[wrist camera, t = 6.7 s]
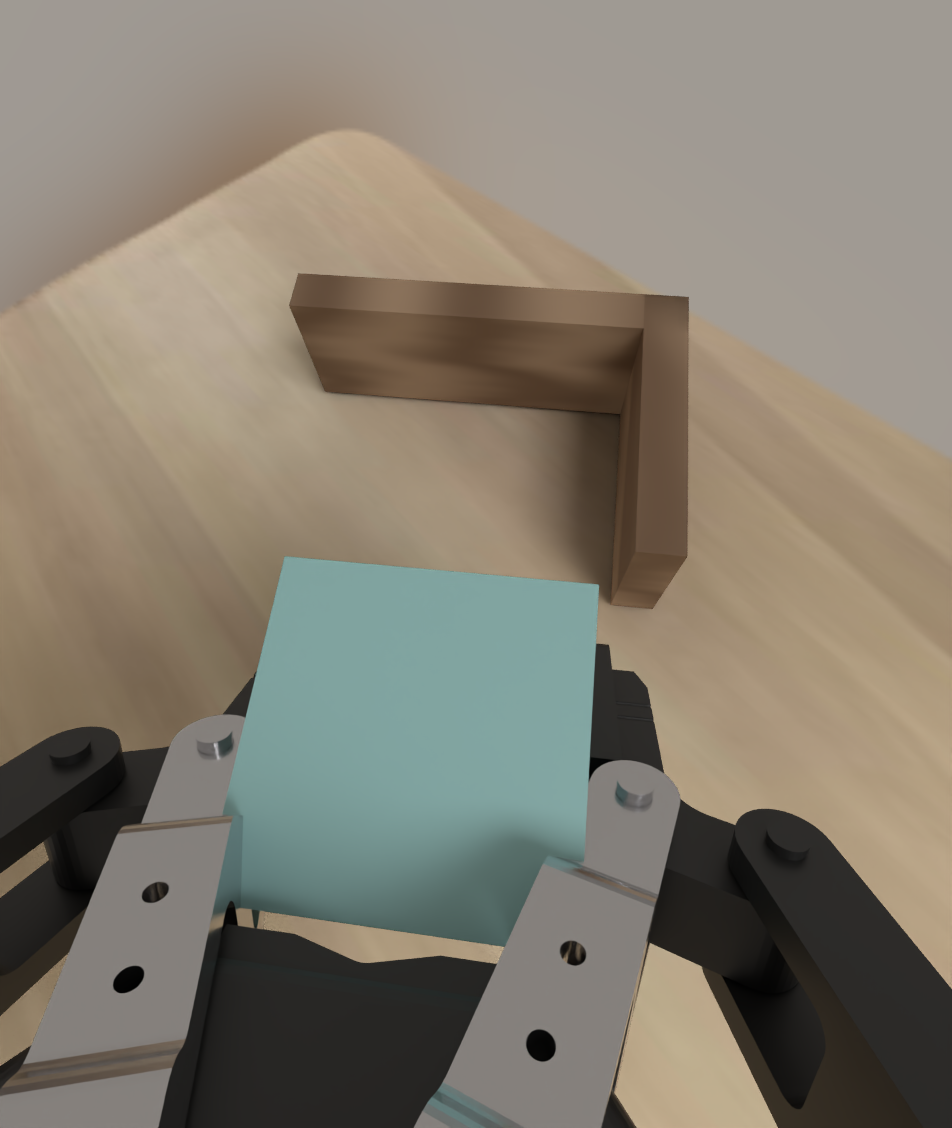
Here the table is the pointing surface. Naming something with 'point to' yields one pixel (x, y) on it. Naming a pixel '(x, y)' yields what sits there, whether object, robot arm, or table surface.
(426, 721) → the teal block
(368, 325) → the walnut corner
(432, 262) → the table surface
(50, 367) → the table surface
